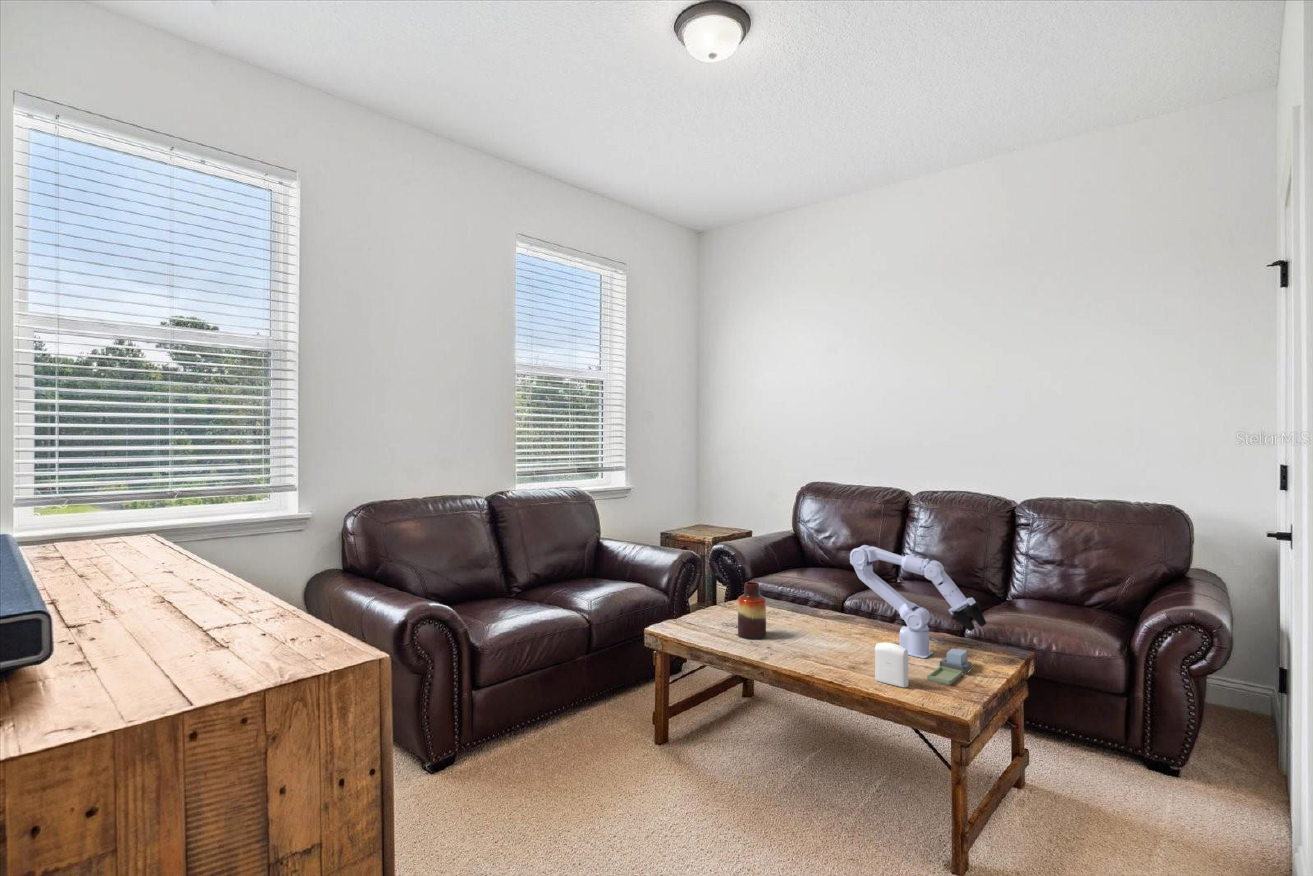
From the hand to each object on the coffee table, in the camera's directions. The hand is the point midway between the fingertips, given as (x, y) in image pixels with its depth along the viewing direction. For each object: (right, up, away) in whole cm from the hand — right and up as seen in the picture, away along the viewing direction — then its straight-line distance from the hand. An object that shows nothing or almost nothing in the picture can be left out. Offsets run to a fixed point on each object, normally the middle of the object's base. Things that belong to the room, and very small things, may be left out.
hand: (978, 627), depth 222 cm
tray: (-16, -13, -12) cm, 24 cm away
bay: (-9, -13, -4) cm, 16 cm away
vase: (-71, -13, +33) cm, 80 cm away
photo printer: (-35, -13, -16) cm, 40 cm away
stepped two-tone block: (-8, -13, -2) cm, 15 cm away
